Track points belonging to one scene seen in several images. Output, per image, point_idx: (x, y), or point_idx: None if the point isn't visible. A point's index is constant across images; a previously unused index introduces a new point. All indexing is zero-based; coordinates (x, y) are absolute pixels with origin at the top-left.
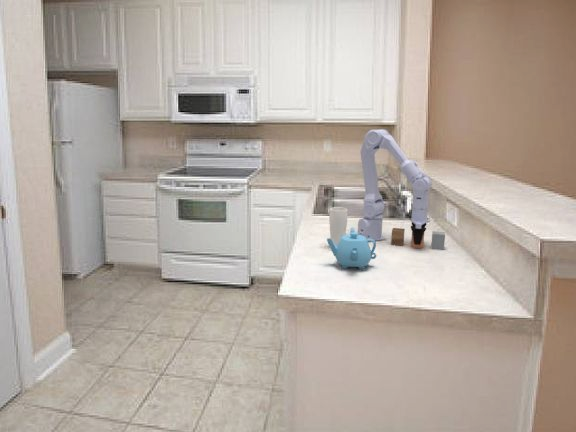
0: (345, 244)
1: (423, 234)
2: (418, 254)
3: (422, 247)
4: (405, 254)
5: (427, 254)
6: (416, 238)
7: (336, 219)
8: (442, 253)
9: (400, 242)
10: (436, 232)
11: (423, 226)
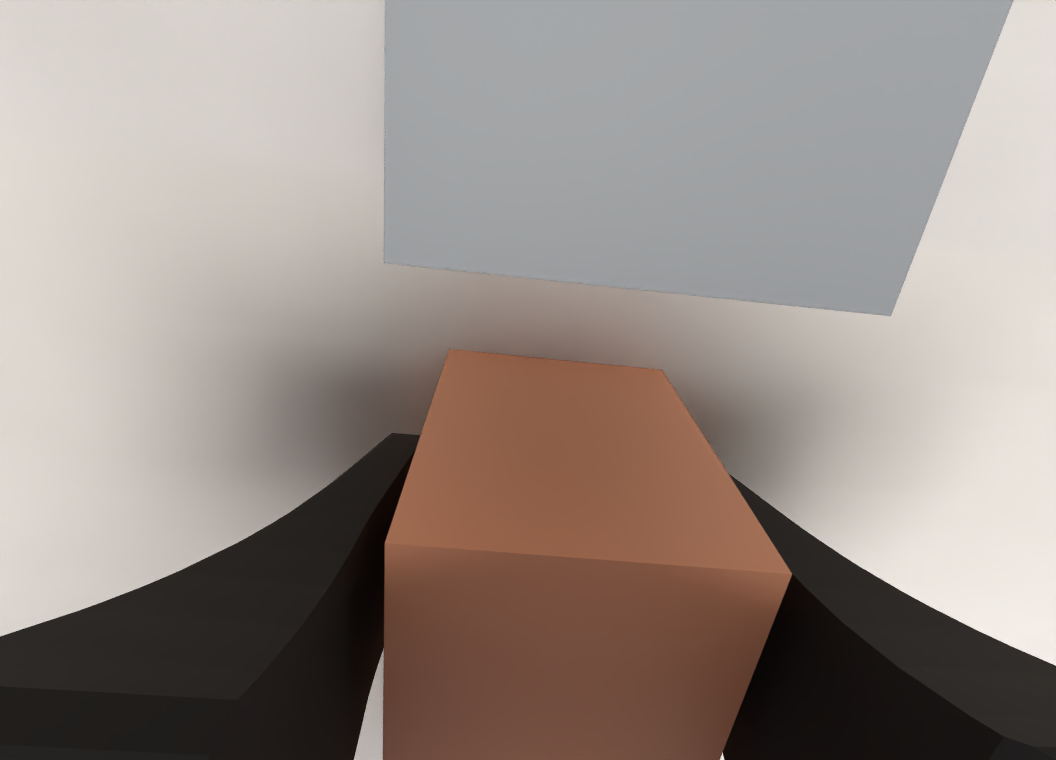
0: None
1: (765, 558)
2: (1022, 463)
3: (664, 385)
4: (999, 613)
5: (1043, 331)
6: None
7: None
8: (1018, 13)
9: None
10: (626, 100)
11: (287, 692)
